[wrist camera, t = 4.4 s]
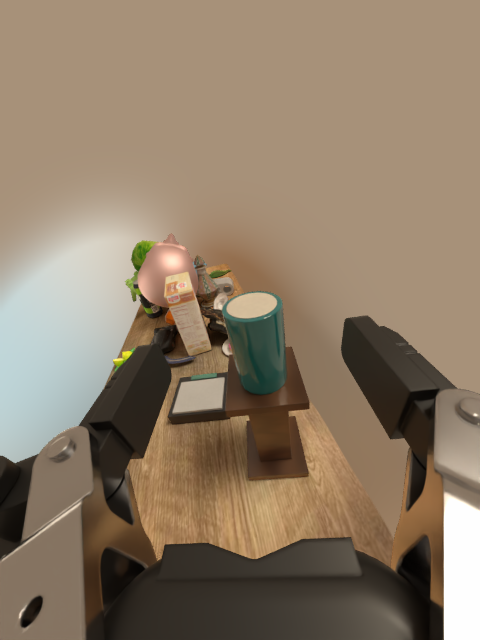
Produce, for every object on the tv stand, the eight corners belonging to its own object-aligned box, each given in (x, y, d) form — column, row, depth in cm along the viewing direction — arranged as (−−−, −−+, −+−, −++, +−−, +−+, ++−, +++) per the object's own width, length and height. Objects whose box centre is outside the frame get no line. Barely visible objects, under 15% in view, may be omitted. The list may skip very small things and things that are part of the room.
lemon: (115, 375, 56) (106, 370, 55) (117, 367, 63) (109, 362, 62) (137, 351, 58) (128, 345, 57) (136, 346, 65) (128, 341, 64)
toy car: (179, 326, 74) (175, 315, 72) (173, 353, 62) (168, 342, 59) (158, 330, 74) (154, 320, 72) (148, 358, 61) (142, 347, 59)
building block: (182, 303, 65) (173, 300, 65) (173, 320, 63) (164, 316, 63) (181, 310, 71) (173, 306, 70) (173, 325, 69) (165, 322, 68)
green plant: (137, 281, 90) (156, 298, 98) (148, 262, 99) (165, 279, 107) (115, 292, 96) (135, 307, 104) (128, 273, 105) (145, 288, 113)
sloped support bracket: (192, 282, 92) (189, 289, 85) (232, 276, 92) (232, 283, 85) (195, 294, 95) (192, 302, 88) (234, 288, 95) (234, 295, 88)
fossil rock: (202, 319, 71) (207, 303, 70) (239, 334, 70) (245, 317, 69) (187, 325, 57) (194, 305, 56) (234, 342, 56) (241, 322, 55)
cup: (282, 355, 28) (277, 287, 23) (292, 391, 23) (287, 315, 18) (239, 360, 29) (223, 295, 23) (238, 397, 24) (218, 325, 18)
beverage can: (165, 309, 88) (151, 276, 80) (161, 317, 83) (145, 282, 75) (151, 312, 88) (135, 278, 80) (146, 319, 83) (129, 285, 75)
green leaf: (204, 274, 119) (204, 272, 119) (229, 267, 120) (229, 266, 120) (205, 280, 109) (205, 278, 109) (233, 273, 110) (232, 271, 110)
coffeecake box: (185, 330, 71) (164, 276, 61) (205, 324, 72) (188, 270, 62) (188, 357, 59) (162, 296, 48) (212, 350, 60) (192, 288, 49)
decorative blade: (194, 362, 55) (198, 353, 60) (193, 359, 55) (198, 350, 60) (121, 370, 57) (131, 361, 62) (120, 368, 57) (130, 358, 62)
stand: (295, 419, 39) (291, 346, 29) (308, 476, 31) (309, 402, 22) (247, 424, 40) (228, 354, 30) (249, 480, 32) (225, 411, 22)
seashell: (237, 312, 78) (233, 290, 78) (227, 312, 74) (224, 290, 74) (221, 314, 83) (218, 295, 83) (212, 315, 79) (208, 295, 79)
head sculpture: (195, 242, 92) (206, 231, 64) (191, 300, 97) (200, 313, 70) (145, 234, 85) (132, 218, 58) (144, 297, 91) (132, 310, 63)
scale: (231, 379, 50) (229, 370, 48) (229, 418, 41) (226, 409, 39) (183, 385, 51) (179, 376, 49) (172, 424, 42) (166, 415, 41)
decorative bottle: (201, 294, 92) (201, 250, 79) (222, 301, 89) (226, 257, 76) (189, 305, 84) (187, 259, 71) (212, 313, 82) (214, 267, 69)
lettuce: (181, 256, 91) (175, 235, 98) (129, 255, 83) (127, 232, 90) (179, 283, 104) (174, 263, 111) (134, 285, 96) (132, 262, 103)
